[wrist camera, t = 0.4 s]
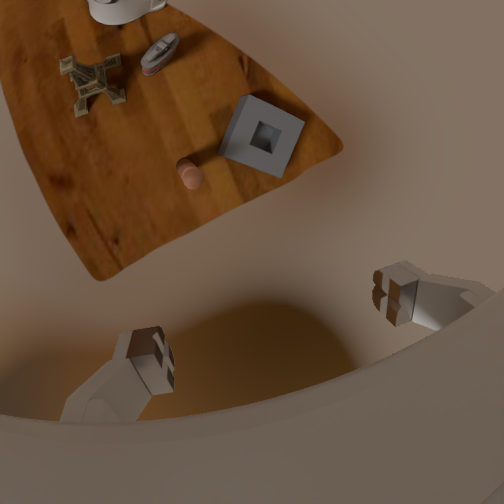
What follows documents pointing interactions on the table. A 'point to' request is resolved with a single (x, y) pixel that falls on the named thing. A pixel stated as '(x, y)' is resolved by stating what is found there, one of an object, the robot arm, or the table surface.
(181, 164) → the peg
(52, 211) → the table surface
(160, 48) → the lighter
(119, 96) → the eiffel tower
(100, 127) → the table surface
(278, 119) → the holder
